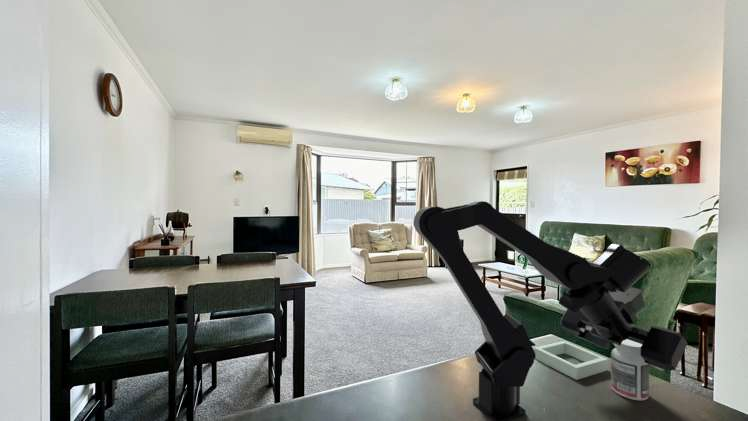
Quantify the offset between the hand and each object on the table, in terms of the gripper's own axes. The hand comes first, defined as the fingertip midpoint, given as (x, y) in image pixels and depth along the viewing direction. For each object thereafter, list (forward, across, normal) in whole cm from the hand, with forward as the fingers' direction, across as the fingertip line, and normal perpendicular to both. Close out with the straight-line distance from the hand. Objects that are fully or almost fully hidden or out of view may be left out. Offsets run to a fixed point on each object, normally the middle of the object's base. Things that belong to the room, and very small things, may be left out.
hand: (634, 357), depth 61 cm
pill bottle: (+4, 0, +6) cm, 7 cm away
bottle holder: (+4, +12, +6) cm, 14 cm away
